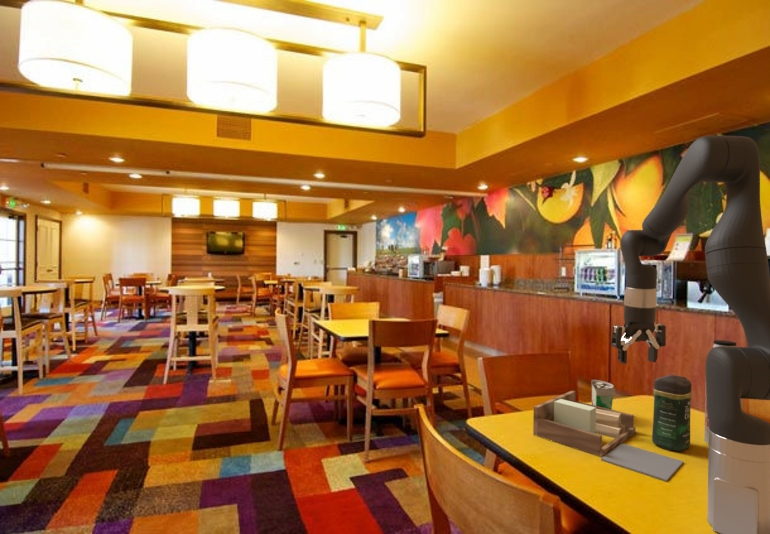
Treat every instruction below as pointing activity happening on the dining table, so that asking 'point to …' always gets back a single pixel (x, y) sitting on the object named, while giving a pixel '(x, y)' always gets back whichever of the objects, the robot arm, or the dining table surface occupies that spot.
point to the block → (575, 415)
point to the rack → (575, 436)
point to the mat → (643, 461)
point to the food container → (602, 394)
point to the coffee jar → (672, 412)
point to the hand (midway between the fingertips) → (637, 362)
